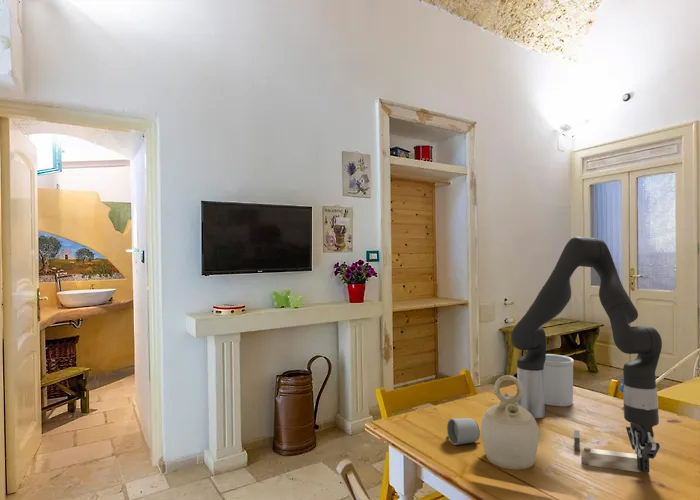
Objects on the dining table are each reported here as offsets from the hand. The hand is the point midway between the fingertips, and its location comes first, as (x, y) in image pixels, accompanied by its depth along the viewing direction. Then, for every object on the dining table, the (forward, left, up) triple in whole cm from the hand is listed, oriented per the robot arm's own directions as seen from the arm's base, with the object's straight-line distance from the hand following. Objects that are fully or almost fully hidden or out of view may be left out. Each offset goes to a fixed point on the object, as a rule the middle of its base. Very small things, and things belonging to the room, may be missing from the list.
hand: (643, 471), depth 113 cm
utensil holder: (-23, +60, -3) cm, 64 cm away
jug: (-32, -4, -3) cm, 33 cm away
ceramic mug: (-48, +5, -3) cm, 49 cm away
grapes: (+5, +62, -3) cm, 63 cm away
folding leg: (-7, +3, -1) cm, 7 cm away
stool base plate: (-7, +8, -3) cm, 11 cm away
